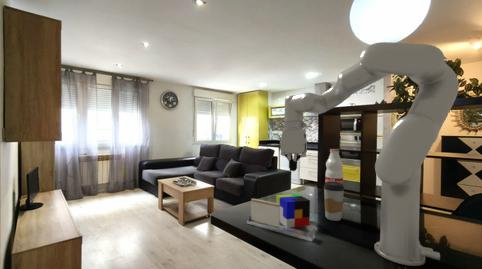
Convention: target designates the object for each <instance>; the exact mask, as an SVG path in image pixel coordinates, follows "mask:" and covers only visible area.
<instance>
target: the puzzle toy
mask: <svg viewBox="0 0 482 269" xmlns="http://www.w3.org/2000/svg"><path fill="white" fill-rule="evenodd" d="M275 196H276V197H275V203H278V204H280V224H282V226H285V227H289V228H297V227H307V226H310V223H311V221H310V220H311V219H310V218H311V213H310V212H311V208H310V207H311V200H310V199H308V198H306V197H304V196H302V195H301V194H298V193H292V194H276V195H275Z"/></svg>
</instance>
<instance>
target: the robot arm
mask: <svg viewBox="0 0 482 269" xmlns="http://www.w3.org/2000/svg"><path fill="white" fill-rule="evenodd" d="M390 75H395V76H401V77H408V78H410V80H411V81H412V82H413V83H415V84H417V86H418V88H419V89H418V92H417V94H416V96H415V98H414V100H413V102H412V105H410V108H409V110H408V111H407V114H406V115H405V116H403V117H401V118H399V119H398V120H397V121H396V122H394V124H393V126H392V128H391V129H390V132H389V134H388V136H387V137H386V139H385V141H384V144H383V146H382V148H381V150H380V152H379V154H378V156H377V158H376V160H375V164H374V169H375V174H376V176H377V177H378V178H379V180H380V181H381V188H380V190H381V192H380V233H379V234H380V235H379V236H380V238H379V241H377V242H376V243H374V251H375V252H376V254H378V255H379V256H380V257H382V258H384V259H386V260H388V261H391V262H394V263H397V264H400V265H405V266H412V267H417V266H422V265H424V264H425V263H426V257H427V258H431V259H432V260H438V261H440V260H441V254H440V252H438V251H434V250H433V248H430V247H425V246H423V245H422V244H421V242H420V239H419V237H420V234H419V233H420V197H421V195H420V193H421V192H420V191H421V178H422V166H423V163H424V162H425V159H426V157H427V156H428V154H429V152H430V150H431V149H432V147H433V145H434V143H435V142H436V141H437V139H438V137H439V134H440V130H441V129H442V127H443V125H444V123H445V121H446V119H447V117H448V115H449V113H450V111H451V109H452V107H453V105H454V102H455V101H456V98H457V96H458V94H459V88H460V86H459V85H460V84H459V79H458V77H457V74H456V72H455V70H453V69H452V67H451V66H449V65H448V64H447V62H446V58H445V54H444V52H443V51H442V50H441V49H440V48H439V47H437V46H435V45H432V44H427V43H416V42H415V43H413V42H412V43H409V42H388V41H387V42H386V41H382V42H375V43H372V44H369V45H368V46H367V47H366V48H364V49H363V50H362V52H361V54H360V57H359V61H358V62H356V63H355V64H353V65H352V66H350V67H347V69H344V70H343V71H342V72H340V73H339V74H338V76H337V81H336V82H335V84H334V85H333V86H332V87H331V88H329V89H328V90H326V91H324V92H323V93H320V94H317V93H313V92H305V93H300V94H298V95H297V94H296V95H288V96H286V97H285V98H284V122H283V123H284V128H283V129H282V132H281V136H280V138H281V139H280V156H283V157H284V158H286V159H287V161H288V169H289V171H290V172H296V171H297V170H298V161H299V160H300V159H301V158H306V157H307V151H308V143H307V141H308V140H307V131H306V129H304V127H307V125H308V124H307V123H305V122H304V113H308V114H315V115H320V114H324V113H326V112H328V111H331V109H332V110H333V109H334V108H336V107H337V106H339V105H341V104H342V103H344V102H345V101H346V100H347V99H349V98H350V97H351V96H352V95H353V94H355V93H357V92H359V91H361V90H363V89H364V88H366V87H369V86H370V85H372V84H374V83H376V82H378V81H380V80H382V79H384V78H385V77H387V76H390Z"/></svg>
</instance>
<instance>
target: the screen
mask: <svg viewBox="0 0 482 269" xmlns="http://www.w3.org/2000/svg"><path fill="white" fill-rule="evenodd" d="M250 203H251V204H250V214H251V220H255V221H258V222H262V223H266V224H270V225H273V226H277V227H279V226H280V224H281V222H280V204H278V203H276V202H272V201H268V200H267V201H266V200H263V199H258V198H251V199H250Z"/></svg>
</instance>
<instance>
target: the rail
mask: <svg viewBox="0 0 482 269" xmlns="http://www.w3.org/2000/svg"><path fill="white" fill-rule="evenodd" d="M246 224H247V225H250V226H254V227H258V228H260V229H261V228H262V229H265V230H268V231H272V232H275V233H280V234H283V235H287V236H291V237H294V238H296V239H297V238H298V239H300V240H304V241H308V242H311V243H312V242H313V241H314V240H315V238H316V228H311V229H310V230H309V232H307V231H304V230H300V229H296V228H294V227H290V228H289V227H285V226H284V225H280V226H279V227H277V226H273V225H270V224H266V223H262V222H258V221H255V220H251V213H250V214H248V215H247V216H246Z"/></svg>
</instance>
